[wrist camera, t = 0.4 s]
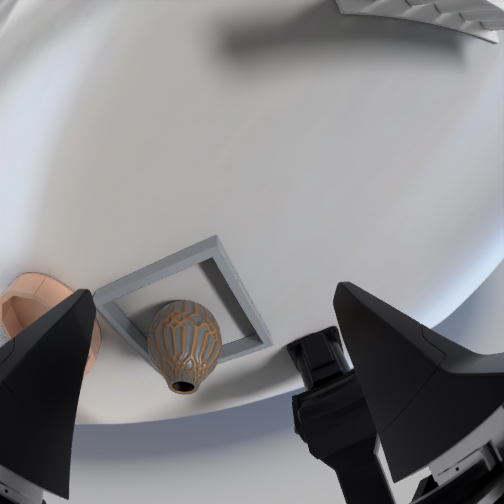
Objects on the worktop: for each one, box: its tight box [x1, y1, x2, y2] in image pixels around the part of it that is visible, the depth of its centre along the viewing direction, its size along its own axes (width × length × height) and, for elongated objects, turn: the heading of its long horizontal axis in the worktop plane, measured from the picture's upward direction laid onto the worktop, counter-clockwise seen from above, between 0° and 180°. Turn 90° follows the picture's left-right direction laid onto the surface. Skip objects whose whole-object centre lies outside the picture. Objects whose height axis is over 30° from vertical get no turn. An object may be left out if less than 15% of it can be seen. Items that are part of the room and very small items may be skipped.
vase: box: [147, 300, 222, 394], centre depth 23 cm, size 7×7×9 cm
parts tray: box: [93, 235, 273, 367], centre depth 26 cm, size 14×14×2 cm
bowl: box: [0, 272, 101, 374], centre depth 23 cm, size 13×13×3 cm
